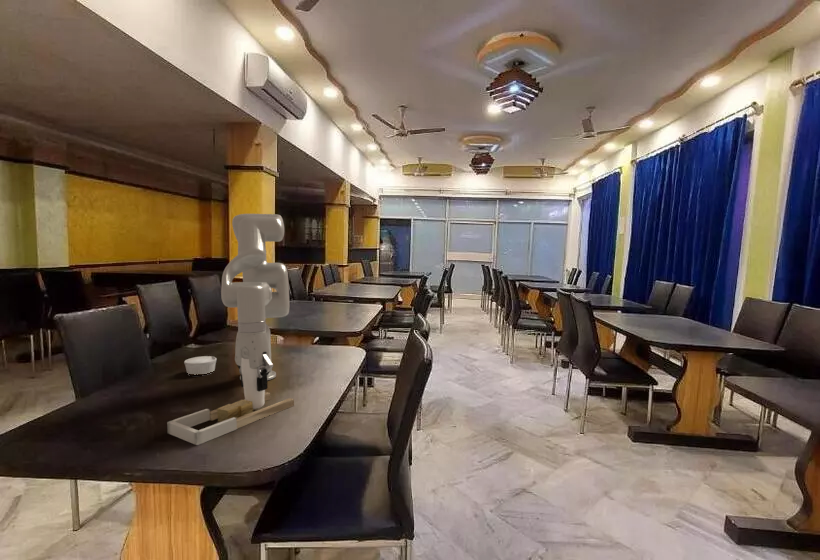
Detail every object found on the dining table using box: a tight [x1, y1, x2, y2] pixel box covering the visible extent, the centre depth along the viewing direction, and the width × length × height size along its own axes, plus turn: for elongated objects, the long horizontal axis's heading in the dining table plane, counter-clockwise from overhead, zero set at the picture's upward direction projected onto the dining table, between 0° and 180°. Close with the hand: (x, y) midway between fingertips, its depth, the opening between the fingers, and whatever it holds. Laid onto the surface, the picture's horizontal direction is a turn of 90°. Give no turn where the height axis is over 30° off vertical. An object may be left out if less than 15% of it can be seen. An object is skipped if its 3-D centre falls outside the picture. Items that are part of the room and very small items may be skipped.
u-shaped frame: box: [166, 408, 238, 446], centre depth 113 cm, size 13×11×3 cm
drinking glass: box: [241, 358, 266, 410], centre depth 126 cm, size 7×7×15 cm
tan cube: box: [216, 403, 240, 423], centre depth 120 cm, size 4×4×4 cm
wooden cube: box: [231, 399, 254, 417], centre depth 123 cm, size 4×4×4 cm
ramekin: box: [183, 355, 217, 375], centre depth 168 cm, size 11×11×5 cm
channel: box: [209, 391, 295, 429], centre depth 126 cm, size 13×20×2 cm, turn 147°
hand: (254, 387), depth 127 cm, fingers closed on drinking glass, 6 cm apart
